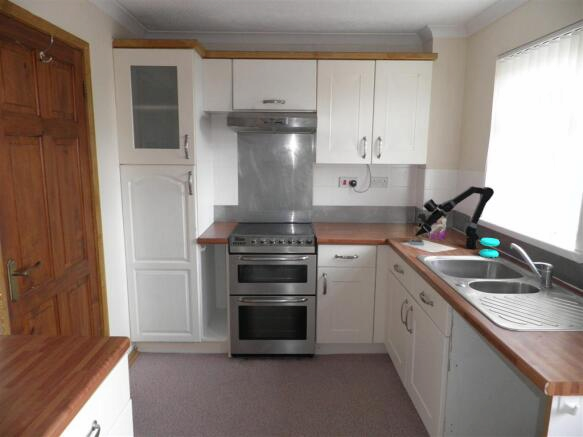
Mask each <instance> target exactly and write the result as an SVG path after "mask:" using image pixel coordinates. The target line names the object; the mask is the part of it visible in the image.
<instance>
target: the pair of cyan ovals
mask: <svg viewBox="0 0 583 437" xmlns="http://www.w3.org/2000/svg"><path fill="white" fill-rule="evenodd" d="M500 243H501V242H500V241H499V239H497V238H490V237H482V238H481V239H480V244H481V245H483V246H484V247H485V246H486V247H498V246H500ZM479 256H481V257H484V258H487V257H492V258H491V259H495V257H496V258H498V257H499V252H498V251H497V250H495V249H488V248H484V249H481V250H479Z"/></svg>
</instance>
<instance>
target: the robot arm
mask: <svg viewBox="0 0 583 437" xmlns="http://www.w3.org/2000/svg"><path fill="white" fill-rule="evenodd" d="M494 193H495V191H494V189H493V188H492V187H489V186H484V187H480V186H479V187H477V186H474V185H472V186H469V187H468V188H467V189H466V190H464V191H463V192H461V193H460V194H458V195H456V196H455V197H453V198H451V199H449V200H447V201H446V200H445V201H444V202H442V203H438V204H437V203H436V202H435V201H434V200H433V198H431V199H429V200H427V201H425V202H424V203H423V205H422V206H423V208H424V209H425V210H426V211H427V212H428V213H430V214H427V215H426V213H422V212H419V211H418V213H417V215H416V217H417V218H418V219H419V220H418V225H417V227H421V229H420V230H419V231H418V232H417V233H416V234H415V235H416V236H418V235H421V236H422V235H424V234H428V232H431V231H432V228H431V226H432V225H433V224H434V223H435V224H436V223H437V221H438V220H439V219H440V218H441V217H443V216H444V217H445V218H446V216H447V213H450V212H451V211H452V210H454V208H455V207H456V206H457V205H458V204H460V203H461V202H462V201H464V200H466V199H467V198H468V197H470V196H472V195H474V194H478V195H479V200H478V201H477V202H478V203H477V204H476V206H475V209H474V211H473V214H472V216H471V219H470V220H469V222H464V223H465V224H464V226H463V228H462V229H463V231H462V232H463V233H464V235H466V241H465V242H466V243H465V245H464V248H465V249H469V250H477V249H480V247H478V241H479V239H480V236H479V235H478V234H477V229H478V224H479V220H480V218H481V216H482V214H483V211H484V209H485V207H486V205H487V203H488V202H489V201H490V200H491V198H492V197H493V196H494ZM444 212H445V213H444Z"/></svg>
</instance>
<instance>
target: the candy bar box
mask: <svg viewBox="0 0 583 437" xmlns="http://www.w3.org/2000/svg"><path fill="white" fill-rule="evenodd" d="M447 220H448V216H447V215H446V218H445V217H444V216H443V217H441V218H440V219H439V220H438V221H437V223H436V224H435V223H434V224H433V225H432V226H431V228H432V231H431V232H428V233H427V236H428V239H433V240H434V239H435V240H446V235H447V234H446V231H447V222H448V221H447Z"/></svg>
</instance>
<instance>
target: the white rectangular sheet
mask: <svg viewBox="0 0 583 437" xmlns="http://www.w3.org/2000/svg"><path fill="white" fill-rule="evenodd" d="M422 240H423V242H424V246H419V245H411V244H410V241H409V242H406V241H405V242H400V244H401V245H403V246H404V245H405V246H407V247H411V248H415V249H419V250H422V251H426V252H430V253H437V252H438V253H439V252H445V251H446V252H447V251H452V250H457V248H455V247H452V246H448V245H444V244H440V243H436V242H432V241H429V240H425V239H422Z"/></svg>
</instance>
